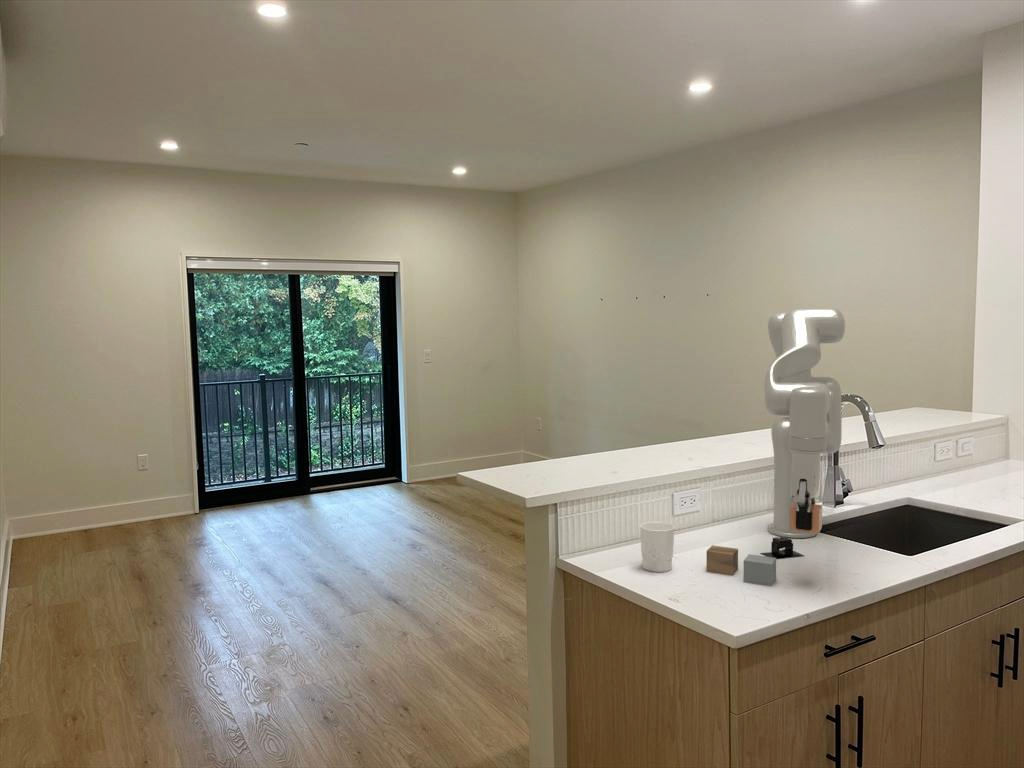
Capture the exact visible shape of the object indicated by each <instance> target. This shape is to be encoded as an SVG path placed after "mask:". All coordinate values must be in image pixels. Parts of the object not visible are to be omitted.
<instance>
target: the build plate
mask: <svg viewBox="0 0 1024 768" xmlns="http://www.w3.org/2000/svg"><path fill="white" fill-rule="evenodd" d="M770 545H771V549H770V551H769V552H760V553H759V554H760V555H761V556H766V557H773V558H776V560H782V559H792V558H803V557H805V555H804V554H802V553H800V552H797V551H796V550H794V543H793V539H791V538H790V537H783V536H779V537H772V541H770Z"/></svg>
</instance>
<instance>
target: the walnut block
mask: <svg viewBox="0 0 1024 768" xmlns="http://www.w3.org/2000/svg"><path fill="white" fill-rule="evenodd" d="M705 567H706V569H705V570H706V572H707V573H712V574H719V575H725V576H732V577H733V576H734V575H735V574H736V573H737V571H738V570H739V548H736V547H735V548H733V547H729V546H720V545H714V544H713V545H711V546H710V547H709V548H708V549H707V550H706V566H705Z"/></svg>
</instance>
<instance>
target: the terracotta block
mask: <svg viewBox="0 0 1024 768" xmlns="http://www.w3.org/2000/svg"><path fill="white" fill-rule="evenodd" d="M796 510H797V502H793V503H792V505H791V506H790V520H789V530H795V531H803V532H811V533H817V534H820V532H821V530H822V527H823V504H817V503H815V504H811V512H812V529H811V530H810V531H809V530H801V529H796Z"/></svg>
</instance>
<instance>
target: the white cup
mask: <svg viewBox="0 0 1024 768" xmlns="http://www.w3.org/2000/svg"><path fill="white" fill-rule="evenodd" d="M639 528H640V529H639V531H640V550H641V559H642V560H641V561H642V568H643V569H644V570H646V571H648V572H655V573H665V572H668V571H670V570H672V568H673V567H672V566H673V554H674V543H675V542H674V541H675V540H674V539H675V525H673V524H672V523H668V522H663V521H647V522H643V523H641V524H640V526H639Z"/></svg>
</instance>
